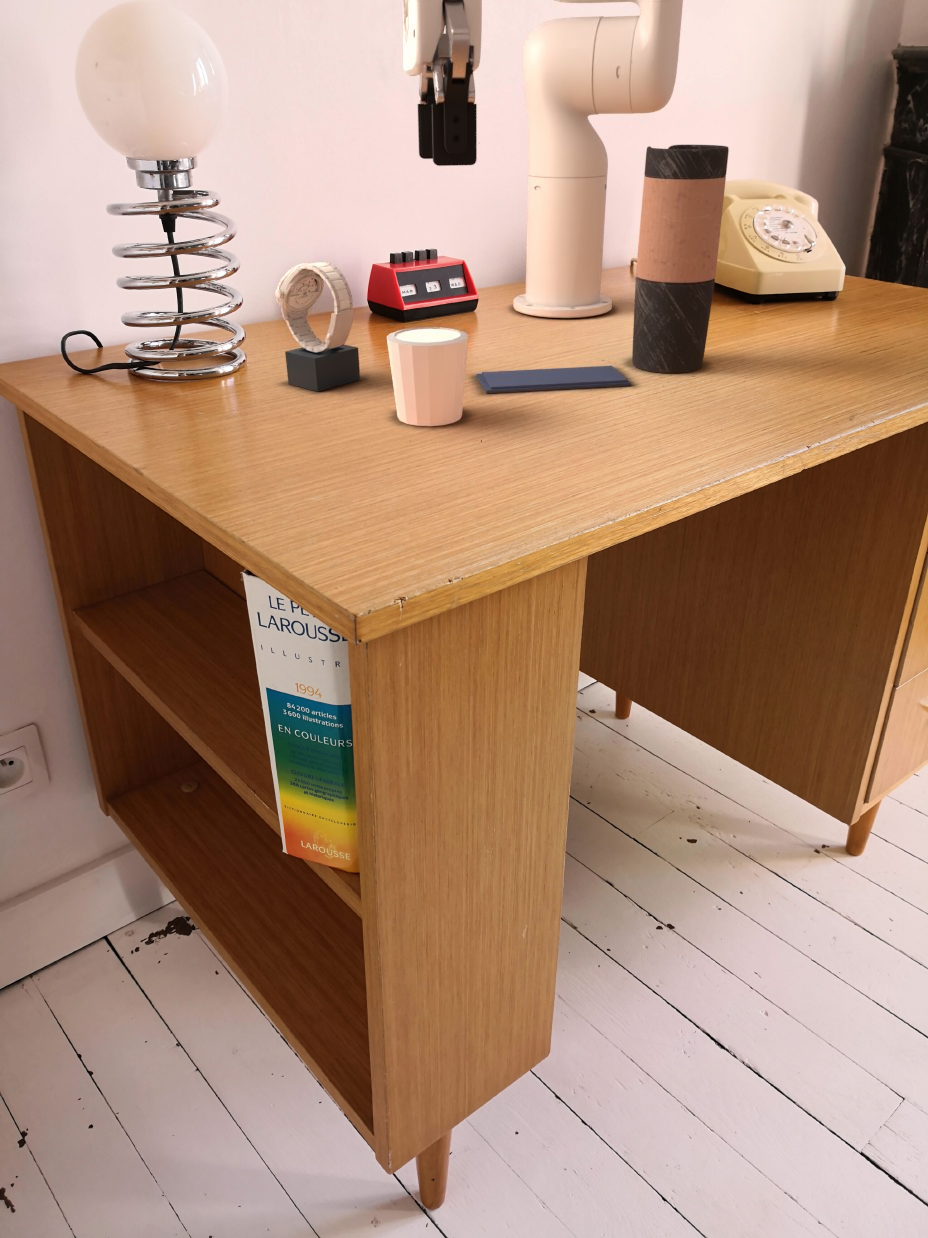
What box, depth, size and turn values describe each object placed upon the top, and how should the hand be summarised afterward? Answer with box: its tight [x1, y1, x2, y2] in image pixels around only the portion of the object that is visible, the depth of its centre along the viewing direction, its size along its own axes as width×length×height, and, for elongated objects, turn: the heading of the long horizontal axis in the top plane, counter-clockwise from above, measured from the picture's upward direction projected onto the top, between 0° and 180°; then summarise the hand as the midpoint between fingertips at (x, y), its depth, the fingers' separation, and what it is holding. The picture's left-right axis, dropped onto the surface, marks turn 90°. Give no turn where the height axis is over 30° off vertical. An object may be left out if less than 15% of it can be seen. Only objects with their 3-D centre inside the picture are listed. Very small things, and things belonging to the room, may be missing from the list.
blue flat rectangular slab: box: [475, 365, 632, 394], centre depth 92 cm, size 6×14×1 cm, turn 98°
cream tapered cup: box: [386, 326, 469, 427], centre depth 81 cm, size 7×7×7 cm
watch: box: [274, 261, 361, 393], centre depth 90 cm, size 6×8×11 cm
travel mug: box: [631, 144, 730, 374], centre depth 92 cm, size 8×8×20 cm
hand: (446, 161), depth 75 cm, fingers open, 9 cm apart
